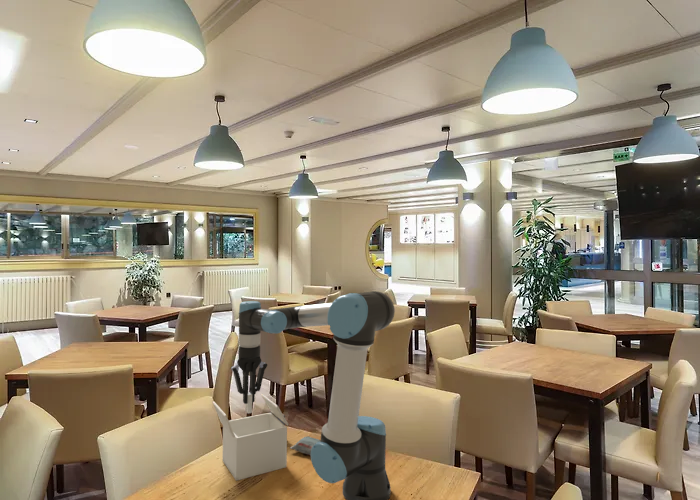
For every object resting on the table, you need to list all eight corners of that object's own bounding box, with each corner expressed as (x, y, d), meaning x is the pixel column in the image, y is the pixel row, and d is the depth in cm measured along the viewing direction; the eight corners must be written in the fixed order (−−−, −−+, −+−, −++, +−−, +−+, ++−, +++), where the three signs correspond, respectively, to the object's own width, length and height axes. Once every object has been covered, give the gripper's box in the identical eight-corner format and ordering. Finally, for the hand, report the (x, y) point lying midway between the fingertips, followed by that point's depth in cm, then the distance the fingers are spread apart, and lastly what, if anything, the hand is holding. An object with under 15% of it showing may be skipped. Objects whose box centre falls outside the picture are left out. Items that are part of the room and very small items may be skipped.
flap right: (287, 425, 154) (288, 424, 154) (276, 406, 152) (277, 405, 152) (271, 411, 167) (272, 410, 167) (260, 394, 164) (262, 393, 165)
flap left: (226, 414, 142) (224, 415, 142) (235, 437, 144) (233, 438, 144) (213, 401, 155) (212, 401, 155) (222, 421, 157) (220, 422, 157)
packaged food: (315, 461, 158) (315, 447, 158) (289, 453, 164) (289, 439, 164) (328, 452, 166) (328, 439, 166) (303, 444, 172) (303, 432, 172)
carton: (286, 466, 153) (287, 427, 153) (236, 480, 144) (236, 438, 144) (269, 449, 167) (270, 412, 167) (222, 460, 157) (223, 421, 157)
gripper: (263, 341, 161) (262, 405, 161) (228, 345, 154) (227, 412, 154) (270, 345, 154) (270, 411, 154) (234, 349, 148) (233, 419, 147)
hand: (248, 411), depth 154 cm, fingers closed
